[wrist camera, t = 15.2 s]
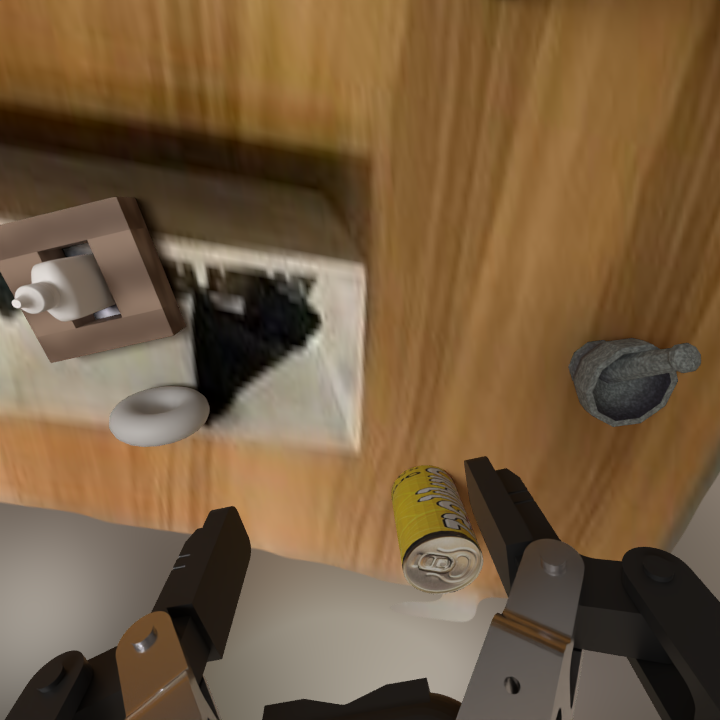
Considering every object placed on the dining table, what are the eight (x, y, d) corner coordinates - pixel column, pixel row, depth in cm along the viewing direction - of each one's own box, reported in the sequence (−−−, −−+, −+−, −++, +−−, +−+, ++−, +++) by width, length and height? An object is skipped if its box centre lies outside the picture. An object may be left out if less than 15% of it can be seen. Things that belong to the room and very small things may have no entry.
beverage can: (446, 520, 56) (471, 597, 45) (385, 514, 56) (395, 590, 44) (462, 469, 53) (493, 538, 42) (398, 461, 52) (411, 530, 41)
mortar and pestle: (612, 404, 50) (688, 459, 39) (544, 393, 49) (602, 447, 38) (650, 321, 46) (747, 356, 35) (577, 308, 45) (652, 339, 34)
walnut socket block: (7, 228, 40) (-23, 230, 37) (135, 197, 40) (116, 196, 36) (72, 352, 45) (50, 362, 42) (186, 326, 45) (173, 335, 41)
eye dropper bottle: (81, 298, 43) (-12, 329, 32) (83, 248, 41) (-15, 262, 30) (122, 308, 44) (45, 342, 33) (125, 259, 42) (45, 277, 31)
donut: (140, 405, 48) (90, 452, 39) (135, 380, 47) (83, 422, 38) (222, 407, 49) (192, 454, 39) (219, 382, 47) (188, 424, 38)
